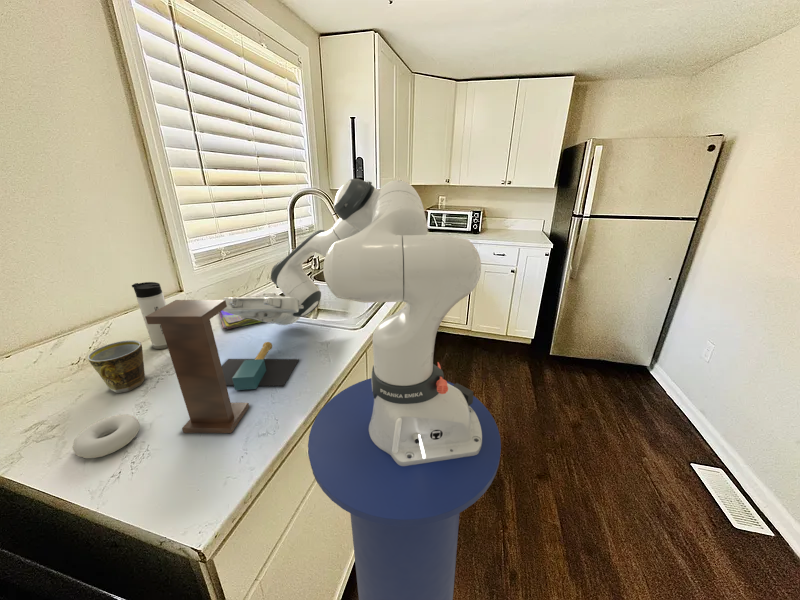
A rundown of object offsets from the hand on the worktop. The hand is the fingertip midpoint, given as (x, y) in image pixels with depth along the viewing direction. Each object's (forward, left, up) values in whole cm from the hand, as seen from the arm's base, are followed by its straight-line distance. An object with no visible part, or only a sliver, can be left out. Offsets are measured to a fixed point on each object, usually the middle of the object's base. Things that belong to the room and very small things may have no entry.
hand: (248, 300), depth 83 cm
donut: (+18, +28, -19) cm, 38 cm away
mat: (0, +4, -19) cm, 19 cm away
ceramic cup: (+29, +11, -19) cm, 36 cm away
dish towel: (+20, -34, -19) cm, 44 cm away
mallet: (0, +2, -18) cm, 19 cm away
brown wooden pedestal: (0, +22, -19) cm, 29 cm away
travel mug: (+35, -11, -19) cm, 41 cm away
